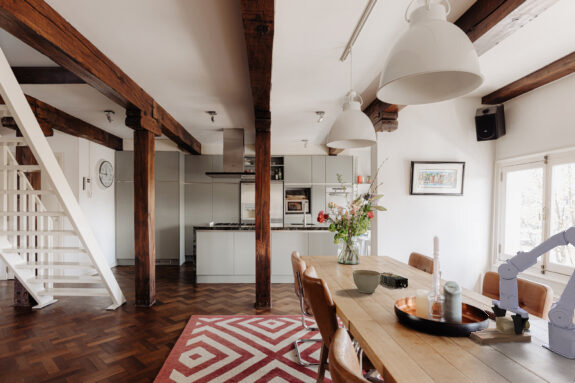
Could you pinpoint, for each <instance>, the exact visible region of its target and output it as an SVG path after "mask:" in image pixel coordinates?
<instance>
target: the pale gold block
mask: <svg viewBox="0 0 575 383" xmlns="http://www.w3.org/2000/svg"><path fill="white" fill-rule="evenodd" d="M495 328H496V330H497V331H499V332H501V333H503V334H505V335H507V334H515V331H514V323H513V320H512V317H511V315H509V316H505V317H496V320H495ZM524 333H525V331H524V328H523V331H522V334H524Z"/></svg>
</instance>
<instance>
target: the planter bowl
mask: <svg viewBox="0 0 575 383" xmlns="http://www.w3.org/2000/svg"><path fill="white" fill-rule="evenodd" d="M381 273H382V272H379V271H376V270H370V269H357V270H353V271H352V278H353V283H354V284H355V286H356V288H357V290H358V292H360V293H362V294H363V293H364V294H374V293H375V291H376V290H377V288H378V287H379V285H380V283H381V282H380V276H381ZM373 292H374V293H373Z"/></svg>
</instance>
